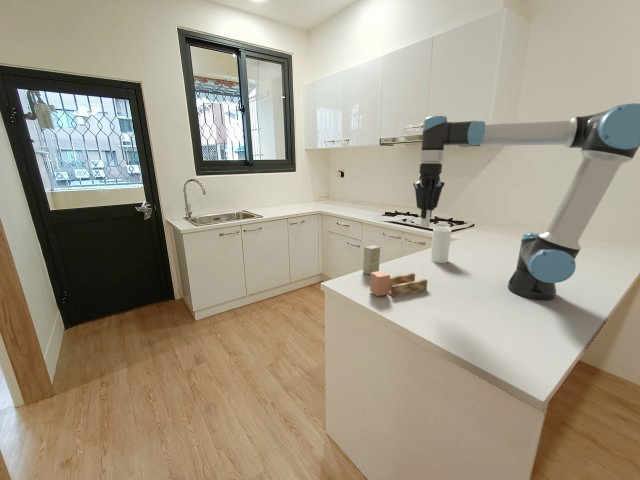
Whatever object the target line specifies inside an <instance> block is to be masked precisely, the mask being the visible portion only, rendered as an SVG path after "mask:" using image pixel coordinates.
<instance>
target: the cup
mask: <svg viewBox="0 0 640 480" xmlns="http://www.w3.org/2000/svg"><path fill="white" fill-rule="evenodd" d="M451 235H452V229H450V228H447V227H446V228H445V227H433V230H432V238H431V240H432V241H431V248H430V249H431V250H430V261H432V262H433V263H437V264H446V263H448V261H449V254H450V253H449V252H450V246H451Z"/></svg>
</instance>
